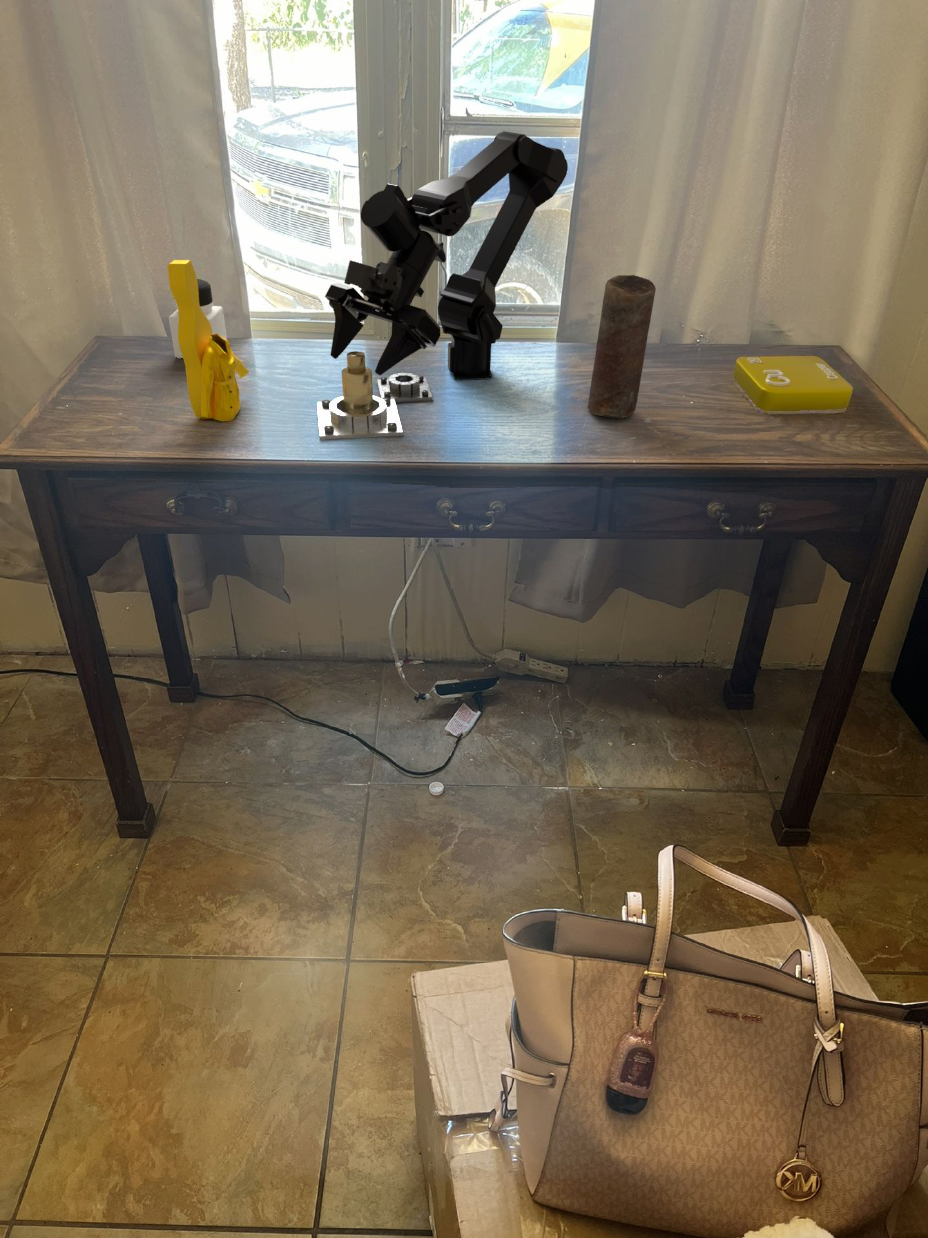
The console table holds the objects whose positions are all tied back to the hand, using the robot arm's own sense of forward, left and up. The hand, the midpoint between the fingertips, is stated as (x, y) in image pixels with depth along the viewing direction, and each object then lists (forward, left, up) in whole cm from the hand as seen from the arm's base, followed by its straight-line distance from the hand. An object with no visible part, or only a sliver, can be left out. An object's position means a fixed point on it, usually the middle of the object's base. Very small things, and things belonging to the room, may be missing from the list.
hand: (354, 365), depth 128 cm
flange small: (-8, -10, -9) cm, 16 cm away
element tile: (-70, -2, -9) cm, 71 cm away
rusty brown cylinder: (-39, +2, -9) cm, 40 cm away
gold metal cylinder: (0, 0, -8) cm, 8 cm away
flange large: (0, 0, -9) cm, 9 cm away
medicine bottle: (+25, -31, -9) cm, 41 cm away
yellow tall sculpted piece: (+21, -5, -9) cm, 23 cm away
